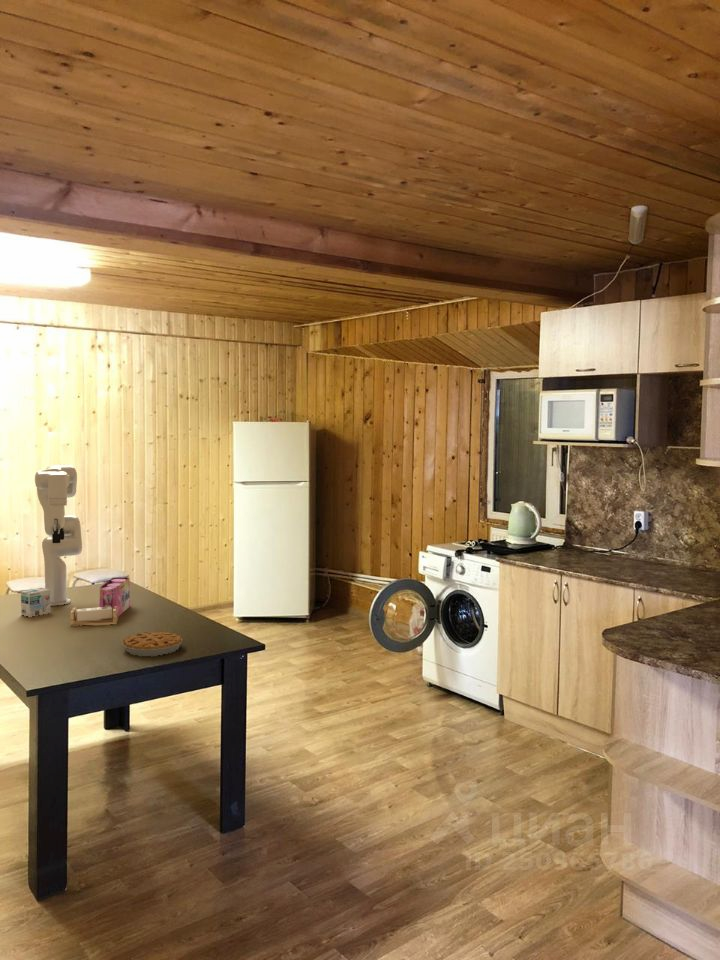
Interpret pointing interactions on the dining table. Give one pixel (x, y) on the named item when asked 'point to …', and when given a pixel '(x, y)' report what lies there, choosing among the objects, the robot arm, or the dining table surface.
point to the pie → (152, 643)
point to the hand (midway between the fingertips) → (58, 541)
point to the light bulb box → (35, 602)
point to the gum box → (116, 594)
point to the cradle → (94, 622)
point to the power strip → (93, 613)
